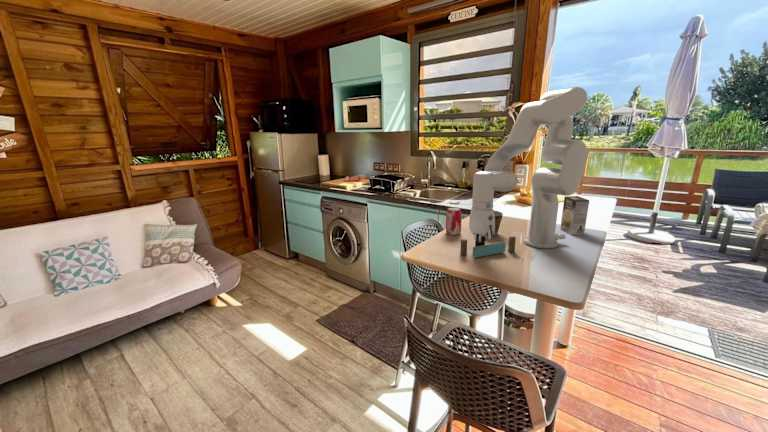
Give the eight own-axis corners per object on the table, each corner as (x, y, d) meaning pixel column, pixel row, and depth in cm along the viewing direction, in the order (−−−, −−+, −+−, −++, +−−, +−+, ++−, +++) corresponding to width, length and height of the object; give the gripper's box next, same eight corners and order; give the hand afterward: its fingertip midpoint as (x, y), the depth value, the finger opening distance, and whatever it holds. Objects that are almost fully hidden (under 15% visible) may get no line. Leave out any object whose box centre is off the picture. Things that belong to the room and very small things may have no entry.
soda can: (461, 236, 139) (462, 210, 136) (445, 235, 141) (446, 210, 138) (460, 231, 146) (461, 207, 143) (445, 230, 148) (446, 206, 144)
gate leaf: (502, 250, 120) (502, 240, 119) (504, 251, 118) (505, 242, 117) (472, 256, 115) (473, 246, 114) (475, 257, 114) (475, 247, 113)
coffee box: (559, 229, 145) (563, 196, 141) (573, 228, 145) (577, 195, 141) (570, 235, 136) (575, 200, 132) (585, 234, 136) (590, 199, 132)
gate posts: (512, 250, 121) (513, 235, 120) (515, 252, 119) (517, 237, 117) (459, 253, 119) (460, 239, 118) (461, 255, 117) (462, 241, 115)
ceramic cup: (499, 230, 145) (501, 210, 143) (502, 237, 136) (504, 216, 133) (471, 229, 148) (472, 209, 146) (472, 236, 139) (473, 215, 136)
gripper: (504, 207, 108) (500, 255, 113) (477, 200, 122) (475, 243, 126) (487, 210, 106) (484, 259, 110) (462, 202, 119) (460, 245, 124)
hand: (479, 250), depth 118 cm, fingers closed
